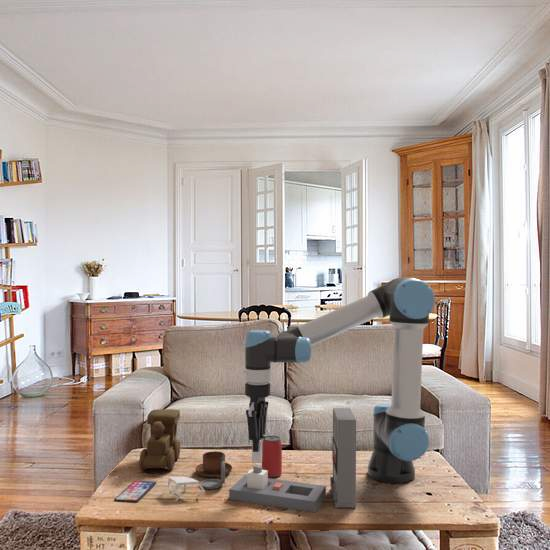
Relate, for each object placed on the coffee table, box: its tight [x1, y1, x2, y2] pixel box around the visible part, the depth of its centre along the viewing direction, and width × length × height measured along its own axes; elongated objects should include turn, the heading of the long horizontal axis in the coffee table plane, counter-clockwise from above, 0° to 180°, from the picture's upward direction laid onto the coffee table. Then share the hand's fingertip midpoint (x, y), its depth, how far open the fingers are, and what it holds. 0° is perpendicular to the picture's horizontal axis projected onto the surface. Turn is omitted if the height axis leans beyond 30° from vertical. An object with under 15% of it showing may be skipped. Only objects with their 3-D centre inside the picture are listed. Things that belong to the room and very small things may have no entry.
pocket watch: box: [200, 453, 226, 490], centre depth 175 cm, size 8×8×10 cm
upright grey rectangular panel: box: [329, 407, 357, 509], centre depth 165 cm, size 14×6×25 cm, turn 0°
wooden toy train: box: [138, 408, 181, 472], centre depth 194 cm, size 20×11×17 cm, turn 0°
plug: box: [246, 464, 269, 490], centre depth 168 cm, size 5×4×8 cm
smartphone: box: [113, 480, 157, 504], centre depth 170 cm, size 8×1×15 cm
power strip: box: [228, 474, 327, 513], centre depth 166 cm, size 26×12×4 cm, turn 71°
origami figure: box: [167, 476, 205, 502], centre depth 166 cm, size 12×8×5 cm
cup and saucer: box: [195, 450, 233, 478], centre depth 185 cm, size 12×12×6 cm
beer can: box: [261, 435, 283, 478], centre depth 184 cm, size 7×7×12 cm
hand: (257, 461), depth 168 cm, fingers closed
